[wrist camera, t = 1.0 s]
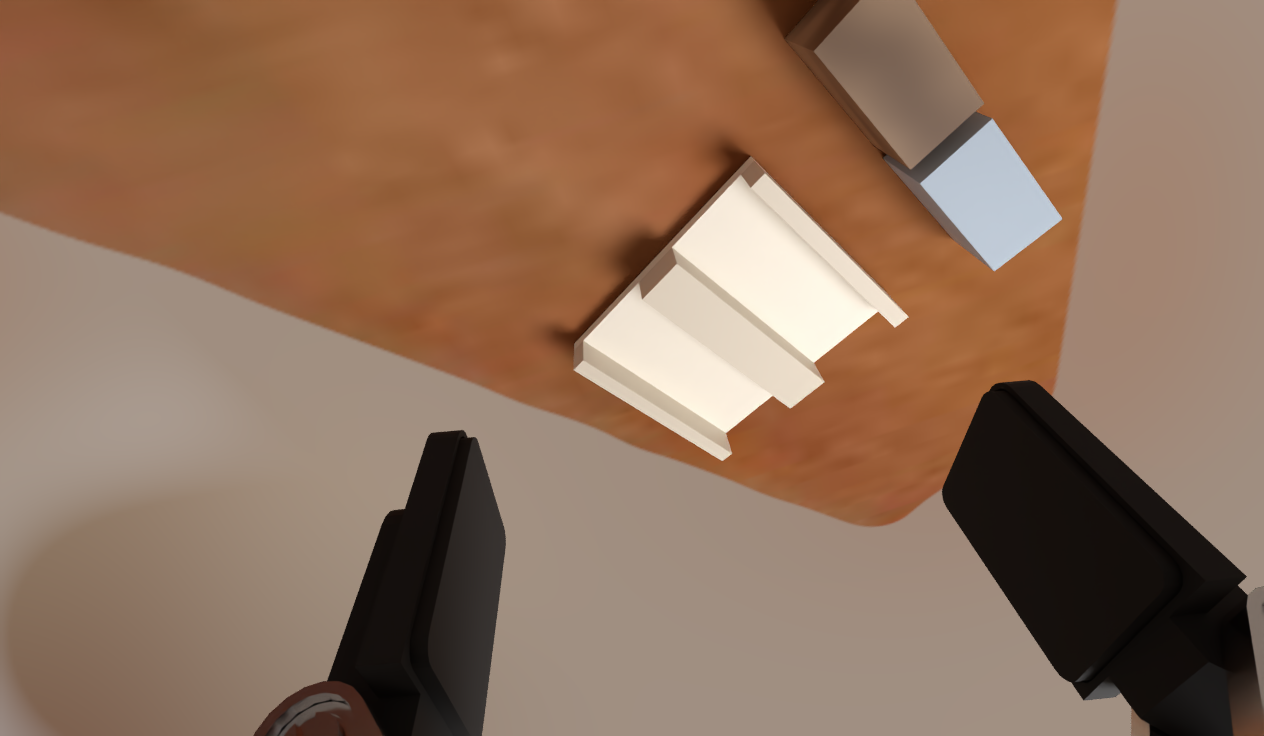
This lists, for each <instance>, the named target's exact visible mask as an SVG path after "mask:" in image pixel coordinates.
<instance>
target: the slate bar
mask: <svg viewBox="0 0 1264 736" xmlns="http://www.w3.org/2000/svg"><path fill="white" fill-rule="evenodd" d="M883 159H884V160H885V161H886V163H887V164H888V165H889V166H890V167H891V168H892V169H893V171H894V172H895V173H896V174H897V175H898V176H899V178H900V179H901V180H902V181H903V182H904V183H905V184H906V186H907V187H908V188H909V189H910V190H911V191H912V193H913V194H914V195H915V196H916V197H917V198H918V200H919V201H920V202H921V203H922V204H923V205H924V206H925V208H926V209H927V210H928V211H929V212H930V213H931V215H932V216H933V217H934V218H935V219H936V220H937V221H938V223H939V224H940V225H941V226H942V227H943V228H944V230H945V231H946V232H947V233H948V234H949V235H950V236H951V238H952V239H953V240H954V241H956V242H957V243H958V244H959V245H961V246H962V247H963V248H965V249H966V250H967V251H969V252H970V253H971V254H972V255H974V256H975V257H976V258H978V259H979V260H980V261H981V262H983V263H984V264H985V265H987V266H988V267H989V268H991V269H992V270H993V271H995V270H997V269H998V268H999V267H1001V266H1002V265H1003V264H1004V263H1006V262H1007V261H1008V260H1010V259H1011V258H1012V257H1014V256H1015V255H1016V254H1018V253H1019V252H1020V251H1021V250H1023V249H1024V248H1025V247H1027V246H1028V245H1029V244H1031V243H1032V242H1033V241H1034V240H1036V239H1037V238H1038V237H1040V236H1041V235H1042V234H1044V233H1045V232H1046V231H1047V230H1049V229H1050V228H1051V227H1053V226H1054V225H1055V224H1057V223H1058V222H1059V221H1060V220H1062V218H1061V216H1060V215H1059V213H1058V212H1057V211H1056V209H1055V208H1054V206H1053V205H1052V203H1051V202H1050V201H1049V199H1048V198H1047V196H1046V195H1045V193H1044V192H1043V190H1042V189H1041V188H1040V186H1039V185H1038V183H1037V182H1036V180H1035V179H1034V178H1033V176H1032V175H1031V173H1030V172H1029V170H1028V169H1027V168H1026V166H1025V165H1024V163H1023V162H1022V160H1021V159H1020V158H1019V156H1018V155H1017V153H1016V152H1015V150H1014V149H1013V147H1012V146H1011V145H1010V143H1009V142H1008V140H1007V139H1006V137H1005V136H1004V135H1003V133H1002V132H1001V130H1000V129H999V127H998V126H997V125H996V123H995V122H994V120H993V119H992V118H989V117H987V116H985V115H982V114H980V113H977V112H974V113H973V114H972V115H971V116H970V117H969V118H968V119H966V120H965V121H964V122H963V123H962V124H961V125H960V126H959V127H958V128H957V129H955V130H954V131H953V132H952V133H951V134H950V135H949V136H948V137H947V138H945V139H944V140H943V141H942V142H941V143H940V144H939V145H938V146H937V147H936V148H934V149H933V150H932V151H931V152H930V153H929V154H928V155H927V156H926V157H924V158H923V159H922V160H921V161H920V162H919V163H918V164H917V165H916V166H915V167H913V168H912V169H911V170H910V169H909V168H907V167H906V166H904V165H902V164H901V163H899V162H898V161H896V160H895V159H893V158H892V157H890V156H889V155H886V156H885V157H884V158H883Z"/></svg>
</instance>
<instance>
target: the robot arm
mask: <svg viewBox="0 0 1264 736" xmlns="http://www.w3.org/2000/svg"><path fill="white" fill-rule="evenodd" d="M942 495H943V500H944V503H945V505H946V507H947V509H948V510H949V512H950V513H951V514H952V516H953V518H954V519H955V521H956V522H957V524H958V525H959V527H960V528H961V530H962V531H963V533H964V534H965V535H966V537H967V538H968V540H969V542H970V543H971V545H972V546H973V547H974V549H975V551H976V552H977V553H978V555H979V557H980V558H981V559H982V561H983V562H984V564H985V566H986V567H987V568H988V570H989V571H990V573H991V574H992V576H993V577H994V579H995V580H996V582H997V583H998V585H999V586H1000V588H1001V589H1002V591H1003V592H1004V594H1005V595H1006V597H1007V598H1008V600H1009V601H1010V603H1011V604H1012V606H1013V607H1014V609H1015V610H1016V612H1017V613H1018V615H1019V616H1020V618H1021V619H1022V621H1023V622H1024V624H1025V625H1026V627H1027V628H1028V630H1029V631H1030V633H1031V634H1032V636H1033V637H1034V639H1035V640H1036V642H1037V643H1038V645H1039V646H1040V648H1041V649H1042V651H1043V652H1044V653H1045V655H1046V657H1047V658H1048V660H1049V661H1050V663H1051V664H1052V666H1053V667H1054V669H1055V670H1056V671H1057V672H1058V674H1059V675H1060V676H1061V677H1062V678H1064V679H1065V680H1067V681H1069V682H1071V683H1072V684H1073V685H1074V687H1075V689H1076V690H1077V692H1078V693H1079V694H1080V696H1081V697H1082V699H1083V700H1093V699H1102V698H1111V697H1116V696H1117V695H1118V694H1119V693H1121V694H1122V695H1123V696H1124V698H1125V699H1126V700H1127V702H1128V703H1129V705H1130V706H1131V736H1264V586H1263V587H1258V588H1255V589H1254V590H1253V591H1252V592H1251V593H1250V594H1249V595H1247V594H1246V593H1245V592H1244V591H1243V590H1242V589H1241V588H1240V587H1239V586H1238V584H1240V583H1241V582H1242V581H1243V580H1244V579H1245V578H1246V577H1247V576H1246V575H1245V574H1243V573H1242V572H1241V571H1240V570H1239V569H1238V568H1237V567H1236V566H1235V565H1234V564H1233V563H1232V562H1231V561H1229V560H1228V559H1227V558H1226V557H1225V556H1224V555H1223V554H1222V553H1221V552H1220V551H1219V550H1218V549H1216V548H1215V547H1214V546H1213V545H1212V544H1211V543H1210V542H1209V541H1208V540H1207V539H1206V538H1205V537H1204V536H1202V535H1201V534H1200V533H1199V532H1198V531H1197V530H1196V529H1195V528H1194V527H1193V526H1191V524H1189V523H1188V522H1187V521H1186V520H1185V519H1184V518H1183V517H1182V516H1181V515H1180V514H1179V513H1177V512H1176V511H1175V510H1174V509H1173V508H1172V507H1171V506H1170V505H1169V504H1168V503H1167V502H1165V500H1163V499H1162V498H1161V497H1160V496H1159V495H1158V494H1157V493H1156V492H1155V491H1154V490H1153V489H1152V488H1151V487H1149V486H1148V485H1147V484H1146V483H1145V482H1144V481H1143V480H1142V479H1141V478H1140V477H1139V476H1138V475H1136V474H1135V473H1134V472H1133V471H1132V470H1131V469H1130V468H1129V467H1128V466H1127V465H1126V464H1125V463H1124V462H1122V461H1121V460H1120V459H1119V458H1118V457H1117V456H1116V455H1115V454H1114V453H1113V452H1111V450H1109V449H1108V448H1107V447H1106V446H1105V445H1104V444H1103V443H1102V442H1101V441H1100V440H1099V439H1098V438H1097V437H1095V436H1094V435H1093V434H1092V433H1091V432H1090V431H1089V430H1088V429H1087V428H1086V427H1084V426H1083V425H1082V424H1081V423H1080V422H1079V421H1078V420H1077V419H1076V418H1075V417H1074V416H1073V415H1072V414H1070V413H1069V412H1068V411H1067V410H1066V409H1065V408H1064V407H1063V406H1062V405H1061V404H1060V403H1059V402H1058V401H1057V400H1055V399H1054V398H1053V397H1052V396H1051V395H1050V394H1049V393H1048V392H1047V391H1046V390H1045V389H1044V388H1043V387H1041V386H1040V385H1039V384H1037V383H1036V382H1034V381H1030V380H1027V381H1015V382H1004V383H997V384H995V385H994V386H992V387H991V389H990V391H989V392H986V393H985V394H984V395H983V397H982V398H981V401H980V403H979V405H978V408H977V410H976V412H975V415H974V417H973V419H972V421H971V424H970V426H969V428H968V431H967V433H966V435H965V438H964V440H963V442H962V444H961V447H960V449H959V451H958V454H957V456H956V458H955V461H954V463H953V465H952V467H951V470H950V472H949V474H948V477H947V479H946V481H945V483H944V486H943V489H942ZM505 539H506V538H505V530H504V526H503V523H502V519H501V517H500V513H499V510H498V506H497V503H496V500H495V496H494V493H493V489H492V486H491V483H490V480H489V477H488V473H487V470H486V466H485V463H484V460H483V457H482V453H481V450H480V447H479V443H478V441H477V439H476V438H475V437H471V438H467V435H466V433H465V432H464V431H463V430H460V431H448V432H436V433H431V434H430V435H429V436H428V438H427V441H426V444H425V448H424V451H423V454H422V457H421V460H420V463H419V466H418V470H417V473H416V476H415V479H414V482H413V485H412V488H411V492H410V495H409V498H408V501H407V504H406V507H405V509H401V510H394V511H390V512H389V513H388V514H387V516H386V517H385V519H384V521H383V523H382V526H381V529H380V532H379V535H378V537H377V540H376V543H375V546H374V549H373V552H372V555H371V557H370V561H369V563H368V566H367V569H366V572H365V574H364V577H363V580H362V583H361V586H360V589H359V592H358V595H357V597H356V600H355V603H354V606H353V609H352V612H351V614H350V617H349V620H348V623H347V626H346V629H345V632H344V635H343V637H342V640H341V643H340V646H339V649H338V652H337V654H336V657H335V660H334V663H333V666H332V669H331V672H330V675H329V677H328V680H327V681H323V682H320V683H317V684H313V685H310V686H307V687H304V688H303V689H301V690H299V691H298V692H296V693H294V694H293V695H291V696H289V697H287V698H286V699H285V700H284V701H283V702H282V703H281V704H279V706H277V707H276V708H275V709H274V710H273V711H272V712H271V713H269V715H268V716H267V717H266V719H265V720H264V721H263V723H262V724H261V725H260V727H259V728H258V729H257V731H256V732H255V734H254V736H482V730H483V721H484V714H485V706H486V698H487V690H488V682H489V675H490V667H491V659H492V651H493V643H494V635H495V627H496V619H497V611H498V603H499V595H500V586H501V578H502V571H503V563H504V555H505V546H506V540H505Z"/></svg>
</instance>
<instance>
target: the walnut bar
mask: <svg viewBox="0 0 1264 736" xmlns="http://www.w3.org/2000/svg"><path fill="white" fill-rule="evenodd" d="M785 40H786V42H787V43H788V44H789V45H790V46H791V47H792V49H793V50H794V51H795V52H796V53H797V55H798V56H799V57H800V58H801V59H802V61H803V62H804V63H805V64H806V65H807V67H808V68H809V69H810V70H811V71H812V73H813V74H814V75H815V76H816V77H817V78H818V80H819V81H820V82H821V83H822V84H823V86H824V87H825V88H826V89H827V90H828V92H829V93H830V94H831V95H832V96H833V98H834V99H835V100H836V101H837V102H838V104H839V105H840V106H841V107H842V108H843V110H844V111H845V112H846V113H847V114H848V115H849V117H850V118H851V119H852V120H853V121H854V123H855V124H856V125H857V126H858V127H859V129H860V130H861V131H862V132H863V133H864V135H865V136H866V137H867V138H868V139H869V141H870V142H871V143H872V144H873V145H874V146H875V147H877V148H878V149H880V150H881V151H883V152H884V153H886V154H887V155H889V156H890V157H892V158H893V159H895V160H896V161H898V162H899V163H901V164H902V165H904V166H906V167H907V168H909V169H910V170H911V169H912V168H913V167H915V166H916V165H917V164H918V163H919V162H920V161H921V160H922V159H923V158H924V157H926V156H927V155H928V154H929V153H930V152H931V151H932V150H933V149H934V148H936V147H937V146H938V145H939V144H940V143H941V142H942V141H943V140H944V139H945V138H947V137H948V136H949V135H950V134H951V133H952V132H953V131H954V130H955V129H957V128H958V127H959V126H960V125H961V124H962V123H963V122H964V121H965V120H966V119H968V118H969V117H970V116H971V115H972V114H973V113H974V112H975V111H976V110H978V109H979V108H980V107H981V106H982V105H983V104H984V102H983V101H982V99H981V98H980V96H979V95H978V93H977V92H976V90H975V89H974V87H973V86H972V85H971V83H970V82H969V80H968V79H967V77H966V76H965V74H964V73H963V71H962V70H961V68H960V67H959V65H958V64H957V62H956V61H955V59H954V58H953V56H952V55H951V53H950V52H949V50H948V49H947V47H946V46H945V44H944V43H943V41H942V40H941V38H940V37H939V35H938V34H937V32H936V31H935V29H934V28H933V26H932V25H931V23H930V22H929V21H928V19H927V18H926V16H925V15H924V13H923V12H922V10H921V9H920V7H919V6H918V4H917V3H916V1H915V0H818V1H817V2H816V3H815V4H814V6H813V7H812V8H811V9H810V10H809V11H808V12H807V14H806V15H805V16H804V17H803V18H802V19H801V21H800V22H799V23H798V24H797V25H796V26H795V27H794V29H793V30H792V31H791V32H790V33H789V34H788V35H787V37H786V38H785Z"/></svg>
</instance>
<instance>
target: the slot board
mask: <svg viewBox="0 0 1264 736" xmlns="http://www.w3.org/2000/svg"><path fill="white" fill-rule="evenodd" d="M876 312H879V313H881V314H882V315H883V316H884V317H885V318H886V319H887V320H888V321H889V322H890V323H891V324H892V325H893V326H894V327H896V326H898V325H899V324H900V323H901V322H903V321H904V320H905V319H907V318H908V316H907V315H906V314H905V312H904V311H903V310H902V309H901V308H900V307H899V306H898V305H897V304H896V302H895V301H894V300H893V299H892V298H891V297H890V296H889V295H888V294H887V293H886V292H885V291H884V290H883V289H882V288H881V286H880V285H879V284H878V283H877V282H876V281H875V280H874V279H873V278H872V277H871V276H870V275H869V274H868V273H867V272H866V271H865V270H864V269H863V268H862V267H861V266H860V265H859V264H858V263H857V262H856V261H855V260H854V259H853V258H852V257H851V256H850V255H849V254H848V253H847V252H846V251H845V250H844V249H843V248H842V247H841V246H840V245H839V244H838V243H837V242H836V241H835V240H834V239H833V238H832V237H831V236H830V235H829V234H828V233H827V232H826V231H825V230H824V229H823V228H822V227H821V226H820V225H819V224H818V223H817V222H816V221H815V220H814V219H813V218H812V217H811V216H810V215H809V214H808V213H807V212H806V211H805V210H804V209H803V208H802V207H801V206H800V205H799V204H798V203H797V202H796V201H795V200H794V199H793V198H792V197H791V196H790V195H789V194H788V193H787V192H786V191H785V190H784V189H783V188H782V187H781V186H780V185H779V184H778V183H777V182H776V181H775V180H774V179H773V178H772V177H771V176H770V175H769V174H768V173H767V172H766V171H765V170H764V169H763V168H762V167H761V166H760V165H759V164H758V163H757V162H756V161H755V160H754V159H753V158H752V157H751V156H750V157H749V158H748V160H747V161H746V162H745V163H744V164H743V165H742V166H741V167H740V168H739V169H738V170H737V171H736V172H735V173H734V174H733V175H732V177H731V178H730V179H729V180H728V181H727V182H726V183H725V184H724V185H723V186H722V187H721V188H720V189H719V190H718V191H717V192H716V194H715V195H714V196H713V197H712V198H711V199H710V200H709V201H708V202H707V203H706V204H705V205H704V206H703V207H702V208H701V209H700V211H699V212H698V213H697V214H696V215H695V216H694V217H693V218H692V219H691V220H690V221H689V222H688V223H687V224H686V225H685V226H684V228H683V229H682V230H681V231H680V232H679V233H678V234H677V235H676V236H675V237H674V238H673V239H672V240H671V241H670V242H669V243H668V245H667V246H666V247H665V248H664V249H663V250H662V251H661V252H660V253H659V254H658V255H657V256H656V257H655V258H654V259H653V260H652V262H651V263H650V264H649V265H648V266H647V267H646V268H645V269H644V270H643V271H642V272H641V273H640V274H639V275H638V276H637V277H636V279H635V280H634V281H633V282H632V283H631V284H630V285H629V286H628V287H627V288H626V289H625V290H624V291H623V292H622V293H621V294H620V295H619V297H618V298H617V299H616V300H615V301H614V302H613V303H612V304H611V305H610V306H609V307H608V308H607V309H606V310H605V311H604V312H603V314H602V315H601V316H600V317H599V318H598V319H597V320H596V321H595V322H594V323H593V324H592V325H591V326H590V327H589V328H588V329H587V331H586V332H585V333H584V334H583V335H582V336H581V337H580V338H579V339H578V340H577V341H576V342H575V343H574V371H576V372H578V373H579V374H581V375H582V376H584V377H586V378H587V379H589V380H591V381H592V382H594V383H596V384H597V385H599V386H600V387H602V388H604V389H605V390H607V391H609V392H610V393H612V394H614V395H615V396H617V397H618V398H620V399H622V400H623V401H625V402H627V403H628V404H630V405H632V406H633V407H635V408H636V409H638V410H640V411H641V412H643V413H645V414H646V415H648V416H650V417H651V418H653V419H654V420H656V421H658V422H659V423H661V424H663V425H664V426H666V427H667V428H669V429H671V430H672V431H674V432H676V433H677V434H679V435H681V436H682V437H684V438H685V439H687V440H689V441H690V442H692V443H694V444H695V445H697V446H699V447H700V448H702V449H703V450H705V451H707V452H708V453H710V454H712V455H713V456H715V457H717V458H718V459H720V460H721V461H723V460H724V459H726V458H727V457H728V456H730V455H731V454H732V452H731V448H730V445H729V442H728V438H727V435H726V432H728V431H729V430H730V429H731V428H733V427H734V426H735V425H736V424H738V423H739V422H740V421H741V420H743V419H744V418H745V417H746V416H748V415H749V414H750V413H751V412H753V411H754V410H755V409H756V408H758V407H759V406H760V405H761V404H763V403H764V402H765V401H766V400H768V399H769V398H770V397H771V396H774V397H775V398H777V399H778V400H780V401H781V402H782V403H784V404H785V405H786V406H788V407H789V408H792V407H793V406H794V405H795V404H797V403H798V402H799V401H801V400H802V399H803V398H804V397H806V396H807V395H808V394H810V393H811V392H812V391H814V390H815V389H816V388H817V387H819V386H820V385H821V384H823V383H824V380H823V378H822V377H821V375H820V373H819V371H818V370H817V368H816V366H815V364H814V362H815V361H816V360H818V359H819V358H820V357H821V356H823V355H824V354H825V353H826V352H828V351H829V350H830V349H831V348H833V347H834V346H835V345H836V344H838V343H839V342H840V341H841V340H843V339H844V338H845V337H846V336H848V335H849V334H850V333H851V332H853V331H854V330H855V329H856V328H858V327H859V326H860V325H861V324H863V323H864V322H865V321H866V320H868V319H869V318H870V317H871V316H873V315H874V314H875V313H876Z"/></svg>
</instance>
